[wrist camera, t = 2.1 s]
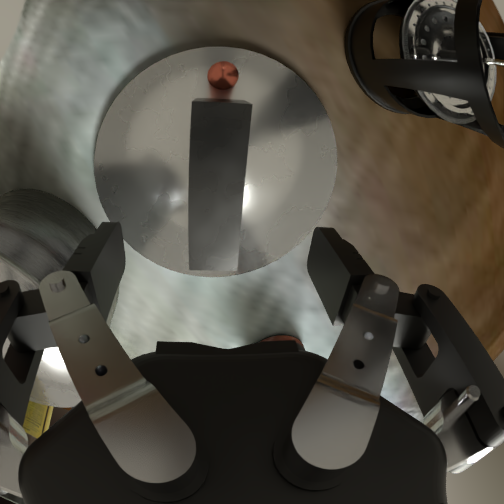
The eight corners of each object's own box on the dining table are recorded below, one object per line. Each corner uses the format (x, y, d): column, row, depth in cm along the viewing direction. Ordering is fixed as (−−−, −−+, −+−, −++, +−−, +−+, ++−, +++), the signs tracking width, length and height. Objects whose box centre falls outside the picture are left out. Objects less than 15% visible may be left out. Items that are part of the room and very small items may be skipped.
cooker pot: (-53, 223, 17) (-102, 274, 10) (30, 116, 15) (-53, 150, 8) (67, 362, 29) (50, 425, 21) (176, 321, 27) (170, 406, 19)
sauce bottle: (14, 349, 27) (-27, 481, 11) (50, 354, 28) (13, 502, 11) (34, 378, 31) (6, 499, 14) (69, 384, 31) (45, 515, 15)
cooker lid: (99, 54, 14) (66, 48, 10) (346, 67, 17) (384, 67, 13) (112, 266, 23) (96, 307, 19) (309, 268, 26) (327, 308, 22)
